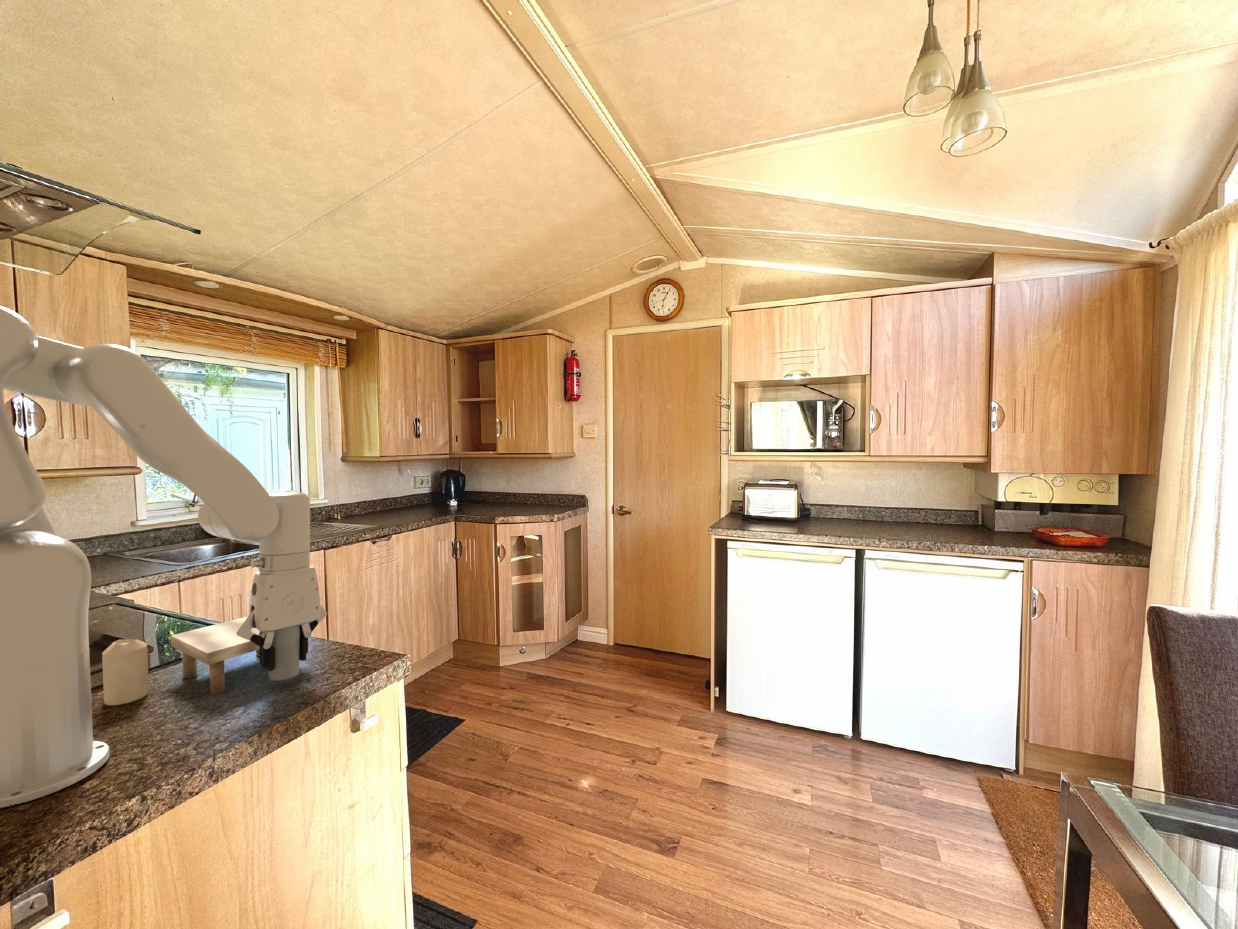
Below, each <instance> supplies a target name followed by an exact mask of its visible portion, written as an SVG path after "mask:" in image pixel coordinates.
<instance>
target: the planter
mask: <svg viewBox="0 0 1238 929" xmlns="http://www.w3.org/2000/svg"><path fill="white" fill-rule="evenodd" d="M272 647H274V648H275V669H274V670H272V671H268V679H269V680H270V681H284V680H288V679H289V680H290V679H292V678H294V677H296V676H297V675H299V673H300V660H299V648H300V625H298V626H294V627H290V628H286V629H282V630H278V631H275V633H274V637H273V640H272Z"/></svg>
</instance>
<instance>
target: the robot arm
mask: <svg viewBox="0 0 1238 929" xmlns="http://www.w3.org/2000/svg"><path fill="white" fill-rule="evenodd" d="M4 390H6V391H11V392H14V393H15V392H16V393H19V394H24V395H29V396H33V397H38V398H41V399H47V400H53V401H56V402H61V403H67V404H72V405H78V406H79V405H80V406H82V407H83V406H85V407H91V408H92V409H93V411H95V412H96V414H98V416H100V418H102V419H103V420H104V421H105V423H106V424H107V425H108V426H109V427H110V428H111V429H112V430H113V431H114V432H115V433H116V434H117V436H119V438H120V439H121V440H122V441H123V442H124V443H125V445H127V447H128V448H129V449H130V450H131V451H132V452H133V453H134V454H135V456H137V458H139V459H140V460H141V461H142V462H144V464H147V465H148V466H149V467H150V468H152V469H154V470H155V471H157V472H159V473H161V474H163V475H166V476H167V477H169V478H171V479H173V480H174V481H177V482H178V483H179V484H181V485H182V486H184V487H185V488H186V489H188V490H189V491H190V492H191V493H193V494H194V495H195V496H196V497H197V498H198V499H200V500H201V501H202V502H203V503H202V504H201V505H200V507H199V510H198V513H197V520H198V523H199V525H200V527H201V528H202V529H203V530H204V531H205V532H206V533H208V534H210V535H211V536H215V537H217V538H223V539H226V540H227V539H229V540H235V541H237V542H238V541H239V542H245V543H253V542H258V541H259V543H258V545H259V549H258V550H259V552H258V554H257V558H255V559H251V560H250V563H249V565H250V568H257V569H258V570H259V571H256V572H255V573H254V576H253V579H252V584H251V589H250V595H249V596H250V597H249V603H248V617H247V616H246V617H247V619H246V620H245V621H244V623H243V624H242V626H241V627H240V628H239V630H238V631H237V633H236V634H237V636H239V637H242V638H245V639H247V640H250V641H251V642H253V643H255V644H256V645H257V646H259V656H258V657H259V660H258V661H259V666H261V668H262V669H264V670H266V671H268V672H269V671H272V670H274V669H275V648H274V647H272V640H273V637H274V633H275V631H278V630H282V629H286V628H290V627H294V626H298V625H300V648H299V661H302V662H304V661H307V654H308V653H309V638H310V637H311V636H312V633H313V631H314V630H315V629H316V627H317V626H318V625H319V623H321V621H322V620H323V619H325V617H327V615H328V611H326V610H325V608H324V607H323V606H322V605H321V595H320V587H319V586H320V585H319V579H318V575H317V570H316V567H315V566H314V565H310V564H311V542H310V541H311V501H310V496H308V494H306V493H304V492H293V491H290V492H289V491H287V492H286V491H285V492H281V491H280V492H270V493H268V491H267V489H266V488H264V486H263V485H262V484H261V483H260V481H259V480H258V479H257V477H255V476H254V474H253V473H252V472H251V471H250V470H249V469H248V467H247V466H246V465H244V464H243V463H242V462H241V461H240V460H239V459H238V458H237V457H235V456H234V455H233V454H232V453H230V452H229V451H228V450H227V449H226V448H225V447H224V446H222V445H221V444H220V443H219V442H218V441H217V440H215V438H213V437H212V436H211V435H209V433H208V432H206V431H205V430H204V429H203V428H202V427H201V426H200V424H199V423H198V422H197V421H196V420H195V419H194V417H193V416H192V415H191V413H190V412H189V411H188V410H186V408H185V406H184V405H183V404H182V403H181V402H180V401H179V399H178V398H177V397H176V396H175V394H174V393H173V392H172V391H171V390H170V388H169V387H168V386H167V385H166V384H165V382H164V381H163V380H162V378H161V377H160V376H159V375H158V374H157V372H156V371H155V370H154V369H153V367H151V365H149V363H148V362H147V361H146V360H145V359H144V358H143V357H142V356H140V355H139V354H138V353H137V352H136V351H134V350H132V349H131V348H128V347H127V346H124V345H123V346H122V345H118V344H112V343H100V344H94V345H93V344H92V345H88V346H85V347H83V346H77V345H74V344H69V343H66V342H62V341H59V340H54V339H50V338H47V337H43V336H40V335H37V334H36V332H35V329H34V328H33V327H32V326H31V324H30V323H29V322H28V321H27V320H26V319H25V318H24V317H23V316H21V315H20V314H18V313H17V312H15V311H14V310H11V309H10V308H7V307H5V306H1V305H0V809H3V808H7V807H11V805H12V806H16V805H15V804H17V805H19V804H23V803H27V802H31V801H33V800H36V799H40V798H42V797H46V796H48V795H50V794H54V793H56V792H59V791H60V790H63V789H66V788H67V787H69V786H72V785H74V784H76V783H78V782H79V781H81V780H83V779H85V778H87V777H88V776H90V775H92V774H94V773H95V772H97V770H98V769H101V767H103V765H104V764H105V763H107V761H108V759H110V755H111V754H110V752H111V750H110V746H109V744H107V743H106V742H104V741H99V740H94V734H93V730H94V729H93V708H92V705H93V704H92V683H91V661H90V659H91V658H90V655H91V654H90V647H89V646H90V643H89V642H90V641H89V640H90V639H89V609H90V608H89V606H90V597H91V588H92V570H91V565H90V562H89V559H88V557H87V556H86V554H85V553H84V551H83V550H82V549H81V548H80V547H79V546H78V545H76V544H75V543H74V542H73V541H70V540H68V539H66V538H64V537H61V536H58V535H57V532H55V530H54V528H53V526H52V524H51V522H50V520H49V517H48V516H47V514H46V512H45V510H44V508H43V506H44V504H45V501H46V492H47V490H46V489H47V488H46V484H45V483H44V480H43V479H42V477H41V476H40V473H39V472H38V470H37V469H36V467H35V466H34V464H33V463H32V460H31V459H30V457H29V454H28V452H27V451H26V448H25V447H24V445H23V444H22V442H21V439H20V438H19V436H18V434H17V432H16V429H15V426H14V424H13V422H12V419H11V417H10V415H9V413H8V410H7V409H6V403H5V399H4ZM252 628H257V629H258V630H259V634H258V635H257V634H254V633H252V632H251V629H252ZM45 795H46V796H45Z"/></svg>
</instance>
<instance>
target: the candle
mask: <svg viewBox="0 0 1238 929" xmlns="http://www.w3.org/2000/svg"><path fill="white" fill-rule="evenodd" d="M101 656H102V657H101V658H102V661H101V662H102V682H103V684H102V685H103V686H102V687H103V703H104V705H105V706H119V705H125V704H129V703H132V702H135V701H138V700H140V699H143V698H145V697H146V696H147V695H148V694H149V690H150V689H149V686H150V684H149V683H150V682H149V662H148V661H149V660H148V658H149V657H148V656H149V655H148V644H147V643H146V642H144V641H142V640H139V639H137V638H136V639H131V638H128V639H127V638H126V639H122V638H121V639H118V640H115V641H113V642H112V643H111V644H110V645H109V646H108V647H107V648H105V650H104V651H102V653H101Z"/></svg>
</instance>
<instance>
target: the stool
mask: <svg viewBox="0 0 1238 929" xmlns="http://www.w3.org/2000/svg"><path fill="white" fill-rule="evenodd" d="M248 616H249V615H248ZM248 616H244V617H240V618H236V619H231V620H228V621H223V622H220V623H216V624H212V625H208V626H204V627H199V628H195V629H191V630H188V631H187V630H186V631H183V632H180V633H176V634H171V635H170V641H171V642H170V643H171V645H170V646H171V647H172V648H173V649H176V650H178V651H180V652H181V655H182V656H181V657H182V678H183V679H184V678H188V679H192V678H195V677H197V676H198V667H197V665H198V662H197V661H199V662H201V663H203V664H205V665H207V666H209V691H210V694H209V695H211V696H214V695H216V696H217V695H220V694H222V693H224V692H225V691H226V683H225V682H226V680H225V660H229V659H232V658H236V657H239V656H242V655H246V654H248V653H251V652H255V655H256V654H257V655H259V646H257V645H256V644H255V643H253V642H251V641H250V640H247V639H245V638H242V637H239V636H237V634H236V633H237V631H238V630H239V628H240V627H241V626H242V624H243V623H244V621H245V620H246V619H247V617H248ZM251 632H252V633H254V634H257V635H258V634H259V630H258V629H257V628H252V629H251ZM196 675H197V676H196Z"/></svg>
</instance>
